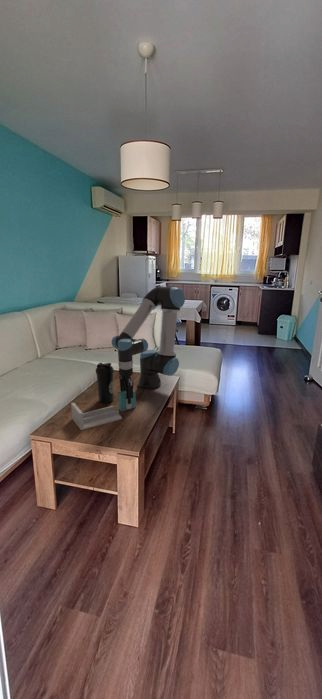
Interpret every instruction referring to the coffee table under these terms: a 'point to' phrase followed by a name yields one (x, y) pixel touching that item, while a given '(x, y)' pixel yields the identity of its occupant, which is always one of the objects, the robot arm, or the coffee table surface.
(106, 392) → the water bottle
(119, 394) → the teal sliding block
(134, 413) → the coffee table surface
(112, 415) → the track
